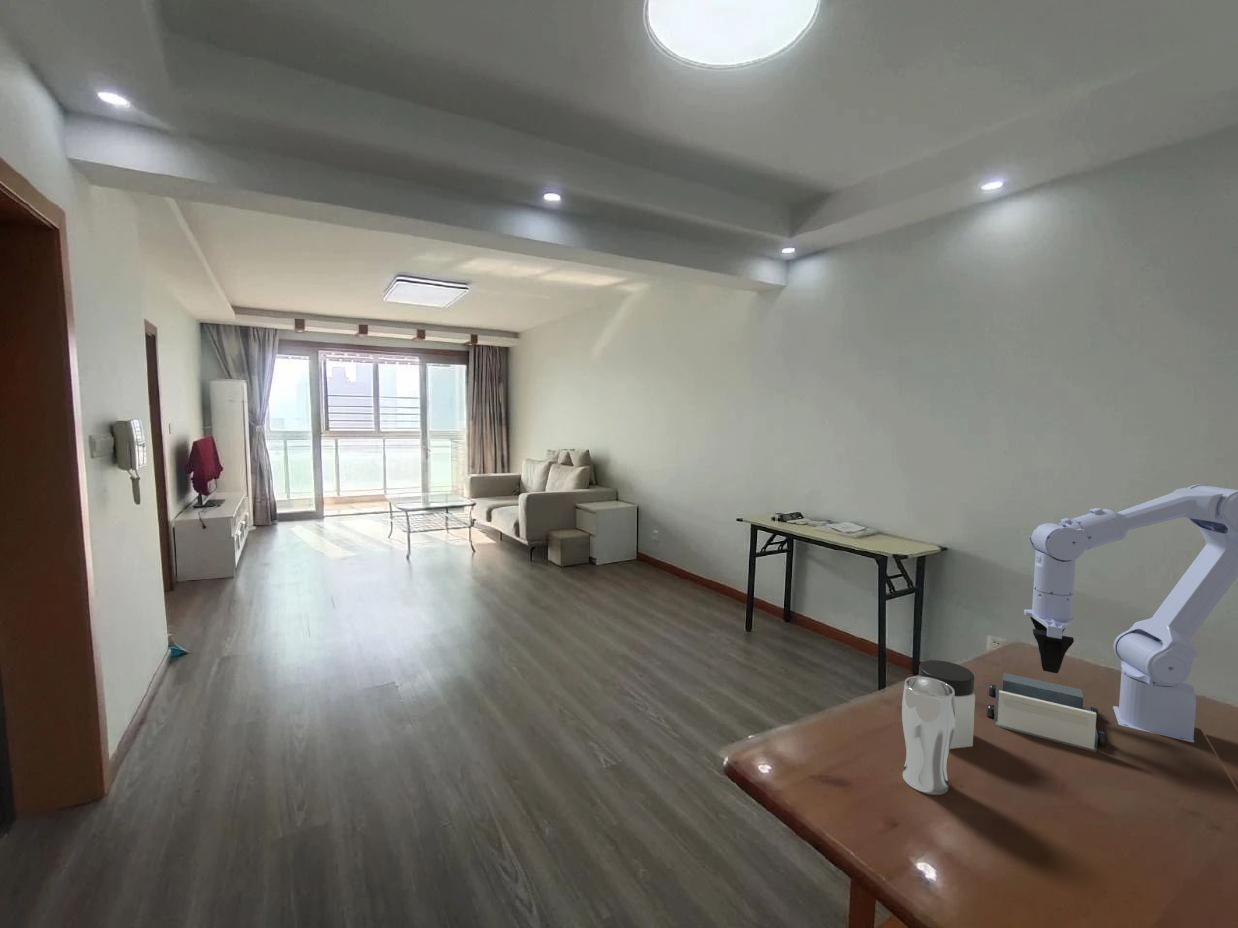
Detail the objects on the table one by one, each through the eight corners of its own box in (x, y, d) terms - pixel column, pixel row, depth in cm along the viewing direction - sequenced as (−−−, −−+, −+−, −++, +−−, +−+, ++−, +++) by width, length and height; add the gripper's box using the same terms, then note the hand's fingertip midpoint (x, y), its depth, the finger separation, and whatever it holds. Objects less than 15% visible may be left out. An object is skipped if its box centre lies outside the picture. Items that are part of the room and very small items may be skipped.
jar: (981, 740, 95) (984, 672, 94) (963, 758, 89) (966, 687, 88) (925, 718, 101) (928, 654, 100) (905, 734, 96) (908, 667, 95)
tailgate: (1095, 751, 91) (1098, 712, 90) (1096, 755, 90) (1099, 715, 89) (995, 725, 99) (997, 689, 98) (995, 728, 98) (997, 692, 97)
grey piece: (1094, 712, 103) (1096, 692, 103) (1105, 754, 90) (1107, 730, 90) (989, 688, 112) (990, 669, 112) (986, 723, 100) (987, 701, 99)
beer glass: (891, 766, 87) (894, 675, 86) (936, 767, 87) (940, 675, 86) (913, 796, 80) (917, 697, 79) (962, 797, 80) (966, 698, 79)
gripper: (1024, 577, 108) (1020, 644, 109) (1027, 597, 96) (1023, 672, 98) (1070, 583, 104) (1065, 653, 106) (1079, 605, 92) (1074, 683, 94)
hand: (1048, 663), depth 101 cm, fingers open, 7 cm apart
